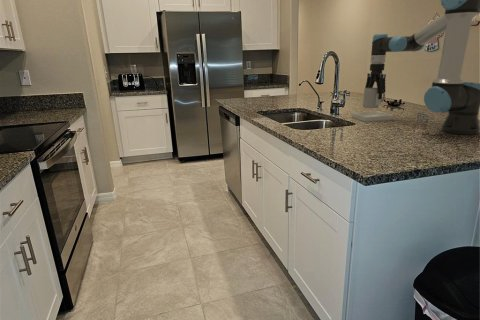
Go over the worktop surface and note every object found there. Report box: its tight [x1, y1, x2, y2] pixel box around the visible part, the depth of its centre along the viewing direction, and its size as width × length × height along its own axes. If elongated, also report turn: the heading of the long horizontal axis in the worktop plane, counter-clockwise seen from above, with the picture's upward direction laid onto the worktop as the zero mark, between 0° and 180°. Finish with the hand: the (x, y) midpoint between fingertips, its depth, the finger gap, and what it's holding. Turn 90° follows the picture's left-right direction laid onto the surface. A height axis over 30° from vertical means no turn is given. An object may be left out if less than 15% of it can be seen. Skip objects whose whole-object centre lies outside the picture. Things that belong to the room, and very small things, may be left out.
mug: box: [362, 87, 386, 109], centre depth 182 cm, size 12×8×11 cm
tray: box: [351, 110, 395, 123], centre depth 186 cm, size 18×16×3 cm
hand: (373, 103), depth 184 cm, fingers closed on mug, 8 cm apart
